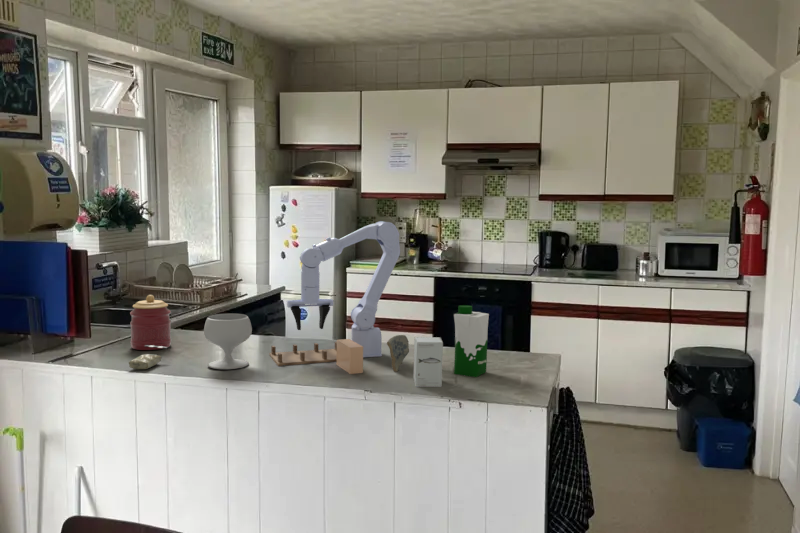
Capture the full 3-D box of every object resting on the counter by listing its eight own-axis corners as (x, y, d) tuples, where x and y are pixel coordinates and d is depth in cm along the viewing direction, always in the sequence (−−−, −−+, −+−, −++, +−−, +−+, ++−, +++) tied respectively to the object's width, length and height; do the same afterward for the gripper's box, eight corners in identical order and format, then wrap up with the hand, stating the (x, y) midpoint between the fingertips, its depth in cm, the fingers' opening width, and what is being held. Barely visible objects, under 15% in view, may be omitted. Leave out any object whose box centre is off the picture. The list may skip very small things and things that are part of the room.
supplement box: (415, 387, 187) (416, 341, 186) (413, 380, 195) (414, 336, 193) (442, 387, 188) (443, 341, 186) (439, 380, 195) (440, 336, 194)
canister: (179, 345, 235) (178, 294, 234) (147, 352, 224) (146, 298, 223) (154, 341, 242) (153, 291, 241) (122, 347, 231) (121, 295, 230)
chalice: (213, 359, 216) (212, 312, 214) (257, 360, 215) (257, 313, 214) (197, 370, 202) (196, 320, 200) (244, 372, 201) (244, 321, 200)
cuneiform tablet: (168, 347, 213) (149, 356, 201) (167, 361, 213) (148, 371, 201) (146, 344, 214) (126, 354, 202) (146, 359, 214) (126, 368, 202)
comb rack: (338, 350, 231) (338, 341, 231) (350, 360, 217) (351, 350, 217) (269, 355, 223) (269, 345, 223) (277, 366, 209) (277, 355, 209)
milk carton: (463, 369, 208) (464, 303, 206) (490, 373, 204) (492, 306, 202) (449, 375, 201) (451, 307, 199) (477, 379, 196) (479, 310, 194)
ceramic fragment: (394, 373, 202) (394, 340, 201) (384, 372, 203) (385, 338, 202) (411, 366, 211) (411, 334, 210) (402, 365, 213) (402, 333, 212)
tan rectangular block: (348, 364, 213) (349, 338, 212) (362, 373, 202) (363, 346, 201) (336, 365, 211) (336, 339, 210) (349, 374, 200) (350, 347, 199)
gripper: (329, 284, 224) (329, 325, 225) (284, 285, 219) (284, 327, 220) (335, 286, 217) (334, 329, 218) (289, 288, 212) (289, 331, 213)
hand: (310, 329), depth 219 cm, fingers open, 7 cm apart
